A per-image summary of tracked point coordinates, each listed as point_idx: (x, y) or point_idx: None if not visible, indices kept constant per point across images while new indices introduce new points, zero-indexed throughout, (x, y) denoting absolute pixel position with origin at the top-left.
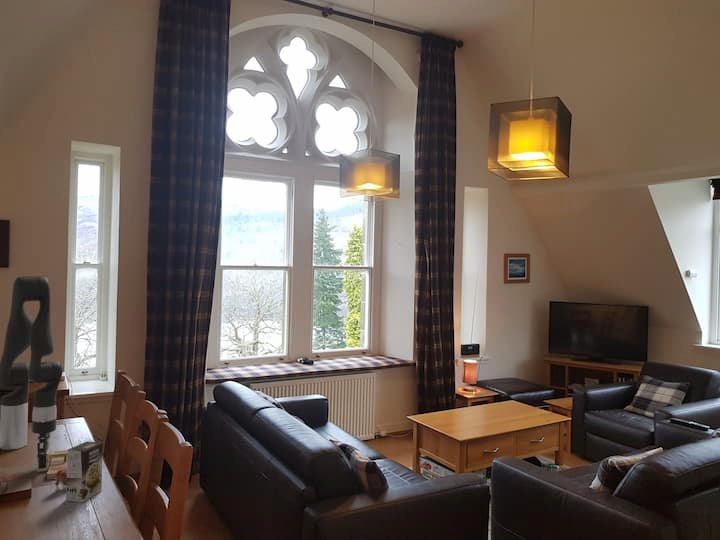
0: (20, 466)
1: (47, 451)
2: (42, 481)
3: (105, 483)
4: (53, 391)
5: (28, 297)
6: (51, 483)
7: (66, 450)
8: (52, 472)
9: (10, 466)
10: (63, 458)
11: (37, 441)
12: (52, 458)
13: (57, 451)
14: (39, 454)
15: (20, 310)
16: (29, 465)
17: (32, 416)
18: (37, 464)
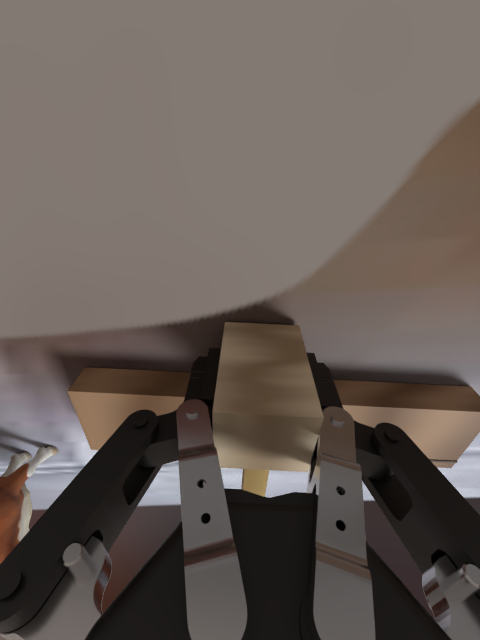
0: (413, 212)
1: (272, 463)
2: (63, 351)
3: (32, 503)
4: None
5: None
6: (32, 384)
7: (455, 456)
8: (88, 411)
9: (477, 122)
10: None
11: (188, 585)
12: (348, 408)
13: (475, 426)
14: (142, 444)
15: None
16: (394, 273)
17: None
18: (220, 355)
